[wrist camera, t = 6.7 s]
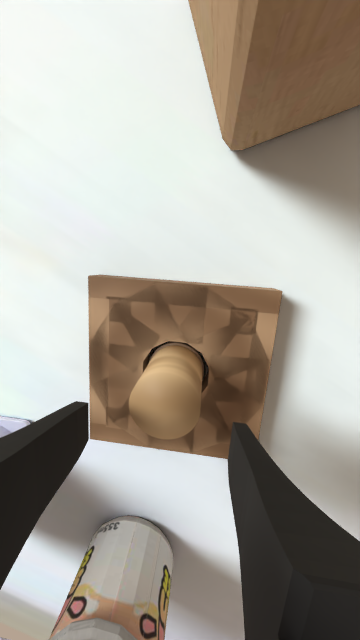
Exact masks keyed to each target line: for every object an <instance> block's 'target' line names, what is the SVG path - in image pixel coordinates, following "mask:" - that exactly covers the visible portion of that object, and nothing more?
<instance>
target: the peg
mask: <svg viewBox="0 0 360 640" xmlns="http://www.w3.org/2000/svg"><path fill="white" fill-rule="evenodd" d="M203 376H204V364H203V361H202V358H201V356H200V355H199V353H198V351H197V350H196V349H195V348H193V347H192V346H190V345H189V344H187V343H183V342H173V341H170V342H168V343H167V344H164V345H162V346H160V347H159V348H158V349H157V350H156V351H155V352H154V353H153V355H152V356H151V358H150V361H149V364H148V366H147V367H146V369H145V370H144V372H143V374H142V375H141V377H140V379H139V380H138V382H137V383H136V385H135V387H134V388H133V390H132V392H131V394H130V398H129V410H130V414H131V416H132V419H133V420H134V422H135V423H136V425H137V426H138V427H139V428H140V429H141V430H142V431H144V432H145V433H147V434H148V435H150V436H152V437H155V438H159V439H176V438H180V437H182V436H184V435H186V434H188V433H189V432H190V431H191V430H192V429H193V428H194V427H195V425H196V424H197V422H198V420H199V416H200V407H201V390H202V380H203Z"/></svg>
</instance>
